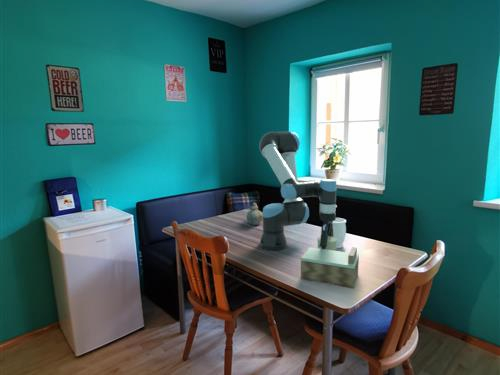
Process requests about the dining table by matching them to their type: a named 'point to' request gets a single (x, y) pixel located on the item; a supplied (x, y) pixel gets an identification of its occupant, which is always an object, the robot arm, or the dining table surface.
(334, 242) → the can
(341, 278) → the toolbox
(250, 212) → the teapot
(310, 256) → the lid
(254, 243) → the dining table surface
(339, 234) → the jar
